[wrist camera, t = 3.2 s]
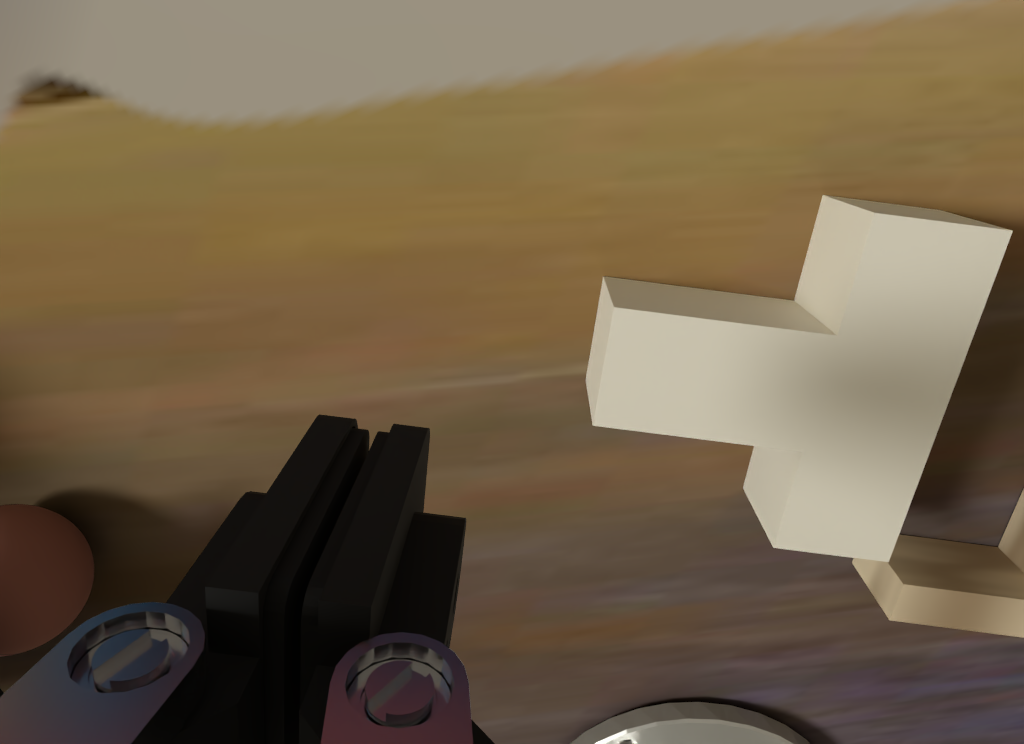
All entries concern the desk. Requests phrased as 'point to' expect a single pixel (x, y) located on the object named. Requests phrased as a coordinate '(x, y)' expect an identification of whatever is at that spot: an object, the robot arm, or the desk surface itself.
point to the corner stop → (953, 581)
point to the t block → (811, 368)
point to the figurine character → (40, 576)
